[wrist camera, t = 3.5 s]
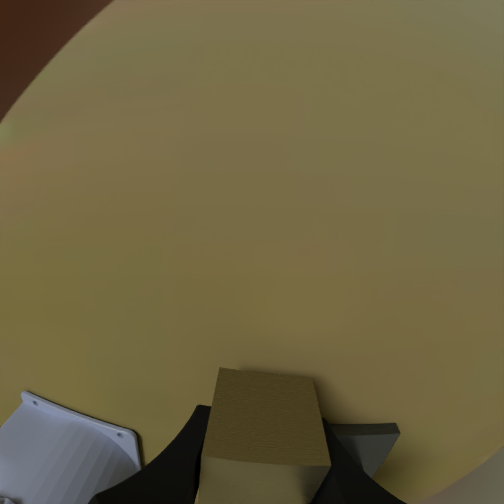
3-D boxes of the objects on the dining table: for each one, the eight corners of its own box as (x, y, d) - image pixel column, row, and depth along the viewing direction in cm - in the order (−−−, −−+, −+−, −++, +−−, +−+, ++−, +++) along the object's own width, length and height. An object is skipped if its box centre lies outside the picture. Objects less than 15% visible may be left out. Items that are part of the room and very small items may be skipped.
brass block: (212, 429, 14) (197, 510, 9) (219, 367, 13) (201, 455, 8) (292, 438, 14) (300, 518, 9) (312, 377, 13) (331, 465, 8)
